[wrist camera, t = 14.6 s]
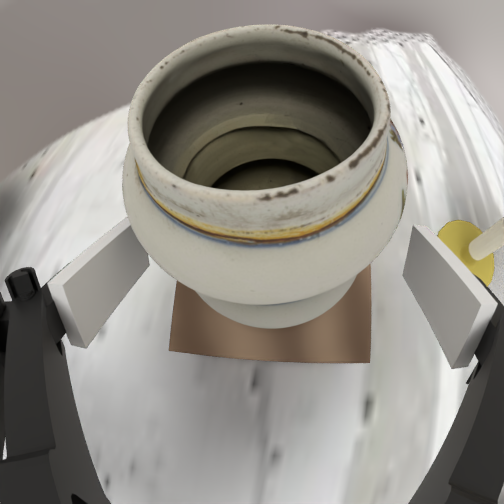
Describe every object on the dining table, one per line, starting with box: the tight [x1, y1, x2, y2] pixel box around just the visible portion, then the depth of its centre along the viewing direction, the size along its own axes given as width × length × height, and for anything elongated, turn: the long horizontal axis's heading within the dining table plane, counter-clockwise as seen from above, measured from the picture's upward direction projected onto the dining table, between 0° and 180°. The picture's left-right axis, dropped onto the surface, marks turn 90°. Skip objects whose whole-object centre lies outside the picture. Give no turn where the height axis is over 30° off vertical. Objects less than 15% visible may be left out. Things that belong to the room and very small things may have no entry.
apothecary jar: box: [122, 25, 408, 329], centre depth 17 cm, size 12×12×18 cm
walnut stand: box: [169, 264, 371, 363], centre depth 29 cm, size 16×16×8 cm
